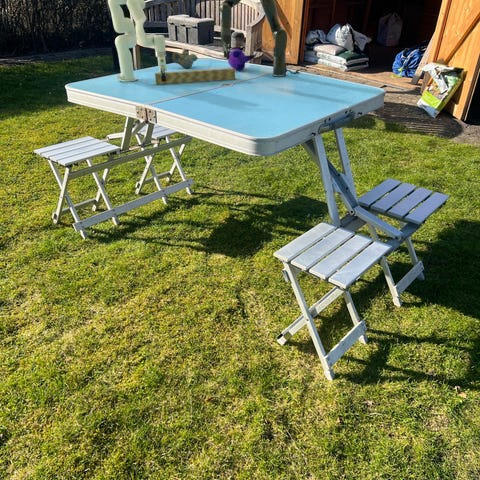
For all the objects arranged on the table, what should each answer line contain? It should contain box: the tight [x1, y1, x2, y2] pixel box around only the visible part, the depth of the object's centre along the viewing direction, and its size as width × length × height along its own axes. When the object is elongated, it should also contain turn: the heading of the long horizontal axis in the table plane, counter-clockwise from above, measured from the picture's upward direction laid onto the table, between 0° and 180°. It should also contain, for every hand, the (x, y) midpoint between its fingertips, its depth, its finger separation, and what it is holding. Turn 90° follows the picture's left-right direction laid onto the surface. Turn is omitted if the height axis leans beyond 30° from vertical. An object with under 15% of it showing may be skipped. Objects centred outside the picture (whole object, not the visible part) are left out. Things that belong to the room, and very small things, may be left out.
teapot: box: [172, 48, 198, 69], centre depth 382 cm, size 21×12×15 cm, turn 109°
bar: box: [154, 67, 236, 86], centre depth 333 cm, size 59×5×8 cm, turn 105°
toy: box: [227, 48, 258, 72], centre depth 368 cm, size 16×18×27 cm
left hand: (163, 80), depth 329 cm, fingers closed on bar, 4 cm apart
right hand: (226, 58), depth 332 cm, fingers open, 8 cm apart
